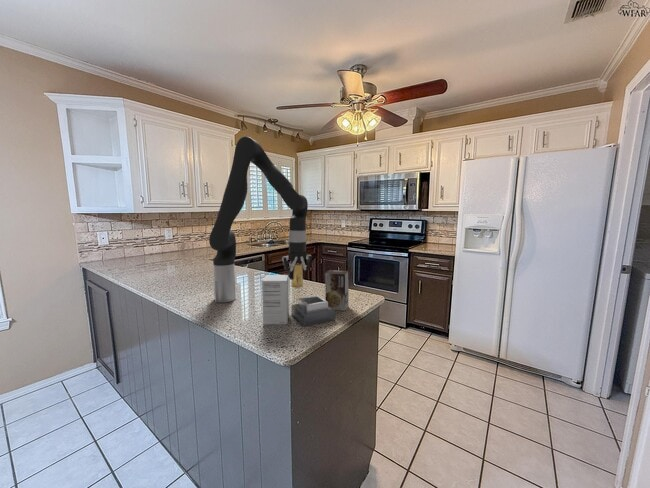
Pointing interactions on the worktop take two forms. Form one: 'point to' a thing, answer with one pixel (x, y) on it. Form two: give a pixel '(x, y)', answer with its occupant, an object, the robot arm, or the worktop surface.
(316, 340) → the worktop surface
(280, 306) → the supplement box
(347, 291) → the coffee box
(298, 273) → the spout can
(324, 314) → the grey square socket base
